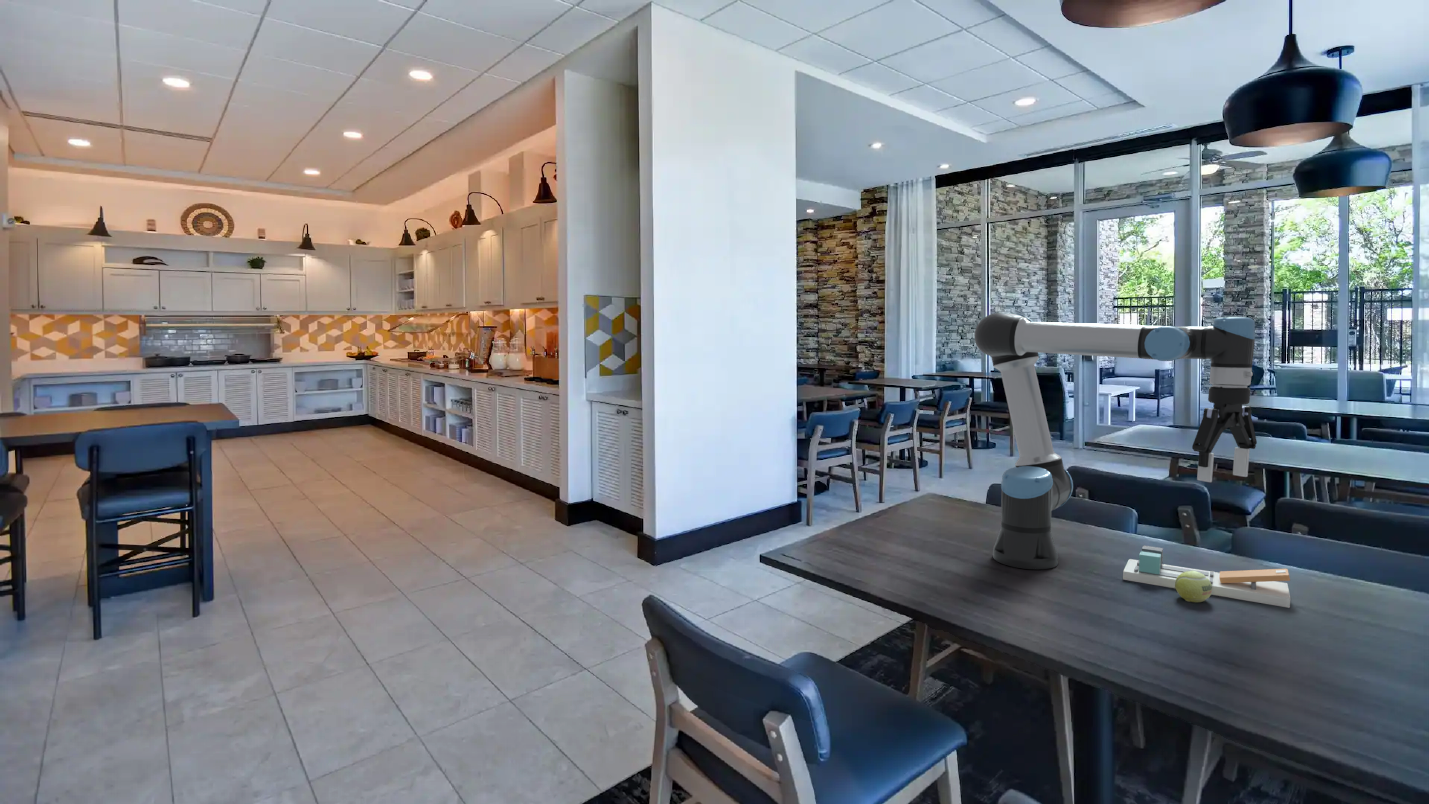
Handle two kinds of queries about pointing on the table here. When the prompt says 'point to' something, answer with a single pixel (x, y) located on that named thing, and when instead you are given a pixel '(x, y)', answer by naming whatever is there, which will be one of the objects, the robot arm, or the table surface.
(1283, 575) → the tan block
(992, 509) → the table surface
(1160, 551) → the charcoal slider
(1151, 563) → the teal slider
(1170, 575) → the panel
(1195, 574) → the tennis ball
